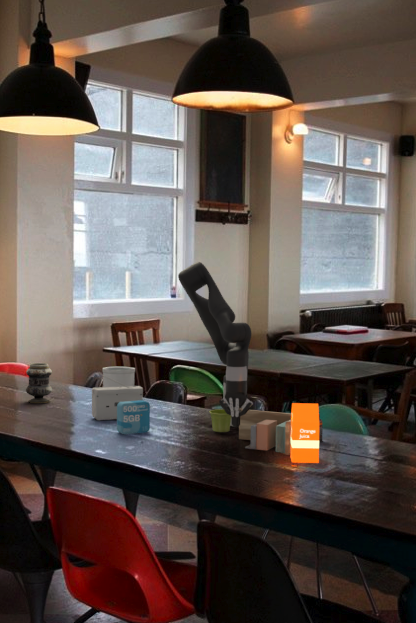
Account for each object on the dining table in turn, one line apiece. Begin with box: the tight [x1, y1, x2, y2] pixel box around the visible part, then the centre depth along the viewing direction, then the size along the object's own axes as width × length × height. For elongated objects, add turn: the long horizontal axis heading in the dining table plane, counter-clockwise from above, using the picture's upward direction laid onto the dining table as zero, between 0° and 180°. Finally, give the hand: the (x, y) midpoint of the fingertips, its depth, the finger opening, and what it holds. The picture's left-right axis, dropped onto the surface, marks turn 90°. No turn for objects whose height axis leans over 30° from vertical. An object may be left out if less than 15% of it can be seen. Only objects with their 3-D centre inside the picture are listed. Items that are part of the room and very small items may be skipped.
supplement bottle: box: [319, 413, 323, 444], centre depth 307 cm, size 6×6×11 cm
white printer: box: [91, 372, 144, 421], centre depth 354 cm, size 21×8×20 cm, turn 108°
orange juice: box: [289, 402, 320, 467], centre depth 277 cm, size 8×9×20 cm
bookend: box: [244, 421, 262, 450], centre depth 297 cm, size 10×4×8 cm, turn 154°
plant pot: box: [209, 408, 231, 433], centre depth 325 cm, size 9×9×9 cm
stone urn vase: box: [25, 362, 53, 404], centre depth 395 cm, size 12×12×18 cm
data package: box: [116, 400, 151, 435], centre depth 326 cm, size 12×4×12 cm, turn 118°
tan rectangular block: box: [255, 420, 277, 451], centre depth 295 cm, size 4×9×9 cm, turn 154°
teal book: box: [275, 421, 287, 454], centre depth 292 cm, size 10×4×9 cm, turn 154°
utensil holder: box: [102, 366, 136, 387], centre depth 385 cm, size 15×15×18 cm
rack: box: [238, 409, 292, 456], centre depth 297 cm, size 16×25×12 cm, turn 64°
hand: (235, 426), depth 301 cm, fingers closed
